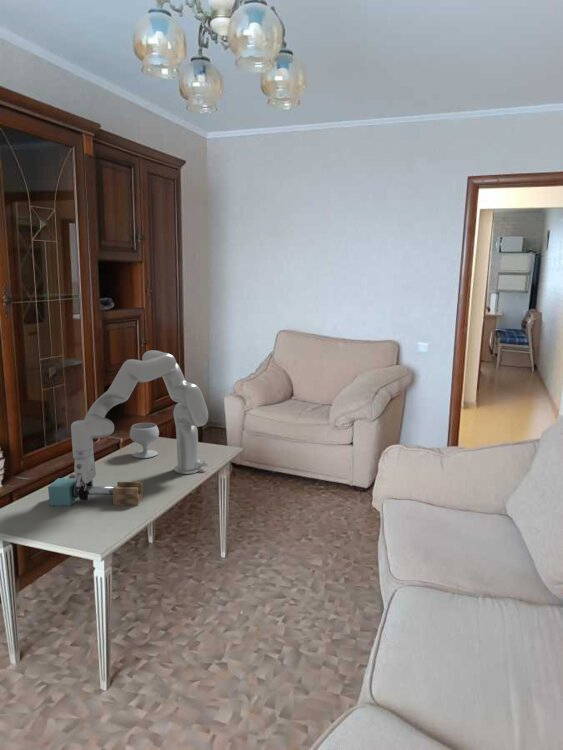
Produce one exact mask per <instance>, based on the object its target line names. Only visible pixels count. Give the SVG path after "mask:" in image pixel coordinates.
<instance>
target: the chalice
mask: <svg viewBox="0 0 563 750" xmlns="http://www.w3.org/2000/svg"><path fill="white" fill-rule="evenodd" d="M159 430H160V429H159V428H158V426H157V424H156V423H154V422H138V423H135V424H133V425H132V426H131V427H130V430H129V438H130V440H131V441H132V442H134V443H136V444H139V445H141V446H142V450H137V451H135V452H134V453H133V454H132V457H133V458H136V459H150V458H152V457H153V458H154V457H156V456H157V455H158V454H159V452H158V451H156V450H152V449H148V446H149V445H150V444H151V443H154V442H155V441H156V440H157V439H158V438H159V437H160V436H159V435H160V431H159Z"/></svg>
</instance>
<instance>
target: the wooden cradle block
mask: <svg viewBox="0 0 563 750" xmlns="http://www.w3.org/2000/svg"><path fill="white" fill-rule="evenodd" d="M116 485H117V486H120V487H113V495H112V501H113V506H139V505H140V503H141V502H140V501H142V500H143V499H142V498H143V497H144V496H143V482H142V481H118V482H117V484H116ZM138 504H139V505H138Z"/></svg>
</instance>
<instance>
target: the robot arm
mask: <svg viewBox="0 0 563 750" xmlns="http://www.w3.org/2000/svg"><path fill="white" fill-rule="evenodd" d="M141 358H142V360H139V359H126V360H125V361H124V362H123V363H122V365H121V367H120V368H119V370H118V373H116V376H115V377H114V379H113V381H112V382H111V385H110V386H109V388H108V389H107V391H105V392H104V393H103V394H101V395H100V397H98V398H97V399H96V400H95V401H94V402H93V403H92V404H91V406H90V408H89V410H88V411H87V413H86V414H85V416H84V419H80V420H75V421H73V422H72V423H71V425H70V431H71V434H70V435H71V444H72V445H71V446H72V458H73V459H74V467H73V468H74V473H75V482H76V483H77V484H76V487H77V488H78V491H79V497H78V500H79V501H88V498H89V497H88V496H89V495H88V494H87V490H86V486H94V483H93V482H94V480H93V479H94V478H95V477H96V475H97V473H96V472H97V471H96V461H95V457H94V456H95V455H94V453H95V452H94V440H93V439H101V438H108V437H109V436H111V435H112V434H113V433H114V431H115V425H114V423H113V421H112V420H110V419H109V418H106V415H107V414H108V412H109V411H110V410H111V409H112V408H113V407H115V406H117V405H119V404H123V403H125V402H127V401H128V400H129V398H130V396H131V394H132V393H133V391H134V389H135V387H136V386H137V384H138V383H147V382H152V381H153V380H154V381H155V380H156V379H160V378H162V379H163V381H164V384H165V386H166V390H167V392H168V394H169V397H170V399H171V400H172V401H173V402H175V403H176V404H175V406H174V408H173V419H174V423H175V432H176V433H175V434H176V459H177V460H176V461H177V462H176V463H177V464H175V466H174V467H173V471H174V472H175V473H178V474H180V475H181V474H182V475H190V474H195V473H198V472H199V473H200V472H201V471H202V470H203V468H204V467H205V468H207V467H209V462H208V461H206V460H201V458H200V457H199V434H198V433H199V431H198V427H203V426H205V425H206V424H207V422H208V421H209V420H208V419H209V410H208V407H207V404H206V401H205V397H204V395H203V392H202V390H201V389H200V387H199V386H198V385H197V384H195V383H193V382H188V381H186V379H185V376H184V373H183V370H182V369H181V368H180V365H179V363H177V360H176V358H175V357H174V355H173V354H170V353H168V352H163V351H161V350H155V349H153V350H152V349H151V350H148V351H145V352H144V354H143V355H142V357H141ZM81 481H83V482H81ZM81 484H84V487H83V486H82V485H81Z"/></svg>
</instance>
